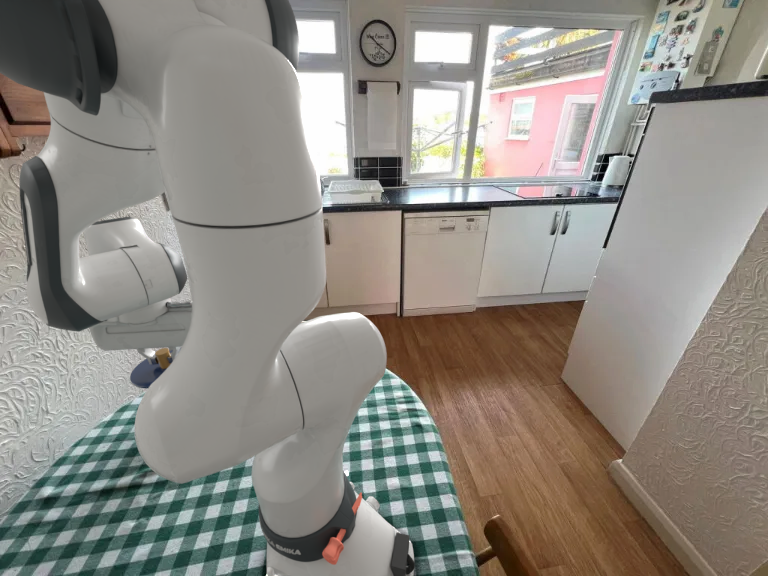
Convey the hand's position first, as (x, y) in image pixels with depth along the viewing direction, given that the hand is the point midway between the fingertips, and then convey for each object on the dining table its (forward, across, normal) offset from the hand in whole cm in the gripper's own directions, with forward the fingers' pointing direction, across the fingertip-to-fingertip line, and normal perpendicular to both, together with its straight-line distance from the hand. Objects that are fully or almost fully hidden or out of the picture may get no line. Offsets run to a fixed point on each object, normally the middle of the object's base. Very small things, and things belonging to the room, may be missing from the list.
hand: (165, 362), depth 65 cm
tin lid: (+1, 0, 0) cm, 1 cm away
